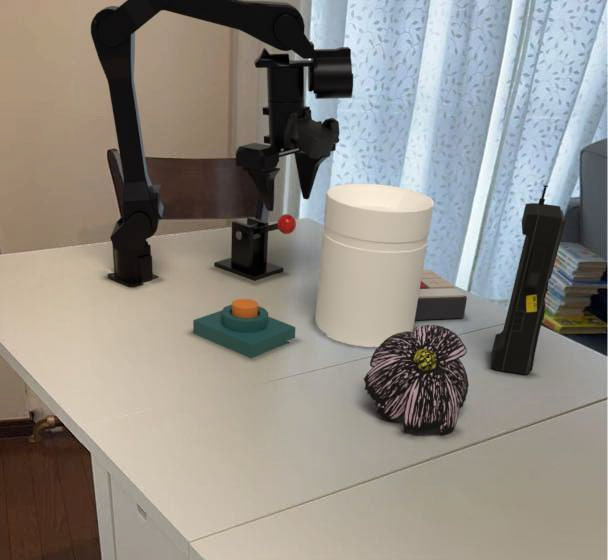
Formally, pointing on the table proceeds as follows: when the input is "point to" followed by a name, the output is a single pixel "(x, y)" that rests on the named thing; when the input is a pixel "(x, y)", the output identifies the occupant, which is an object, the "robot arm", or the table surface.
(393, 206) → the canister
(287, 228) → the switch lever
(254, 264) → the switch bracket
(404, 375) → the decorative flower
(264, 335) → the button block
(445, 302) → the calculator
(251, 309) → the button
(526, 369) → the portable radio
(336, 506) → the table surface
